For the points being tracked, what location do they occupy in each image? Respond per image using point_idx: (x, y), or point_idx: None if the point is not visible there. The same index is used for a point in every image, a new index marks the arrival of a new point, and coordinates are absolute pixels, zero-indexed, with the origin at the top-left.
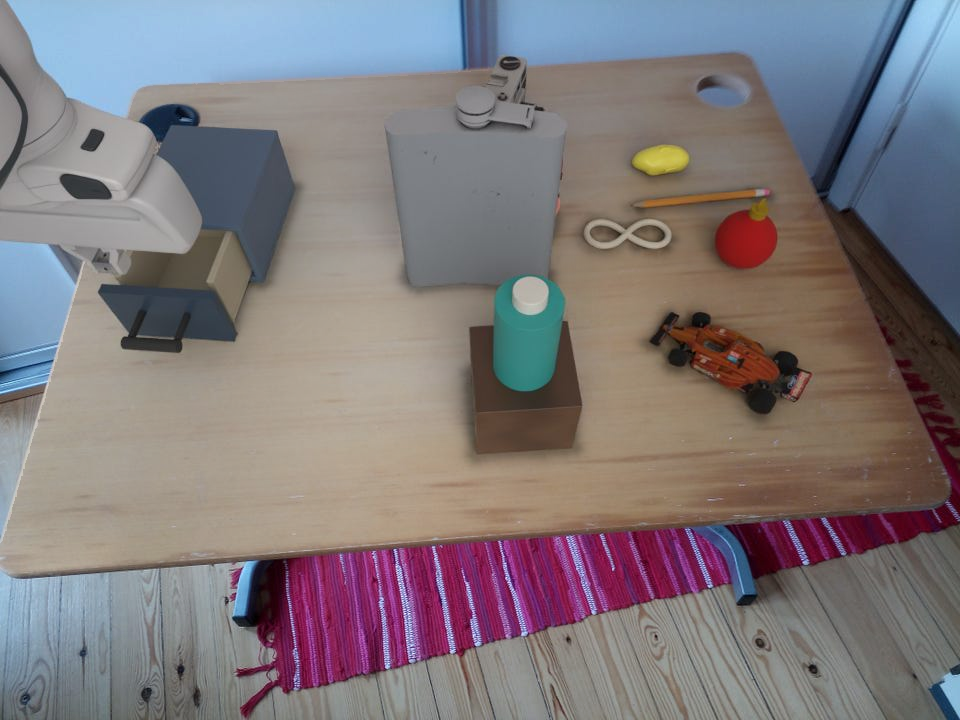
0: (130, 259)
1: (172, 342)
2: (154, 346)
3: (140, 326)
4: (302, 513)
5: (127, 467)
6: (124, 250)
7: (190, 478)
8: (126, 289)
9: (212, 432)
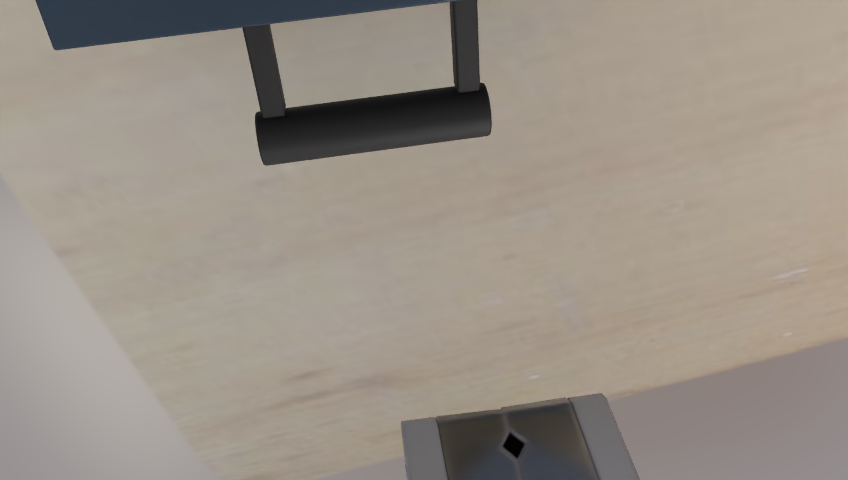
0: (608, 405)
1: (473, 124)
2: (403, 146)
3: (273, 47)
4: (804, 299)
5: (369, 306)
6: (637, 476)
7: (535, 293)
8: (197, 4)
9: (554, 185)
